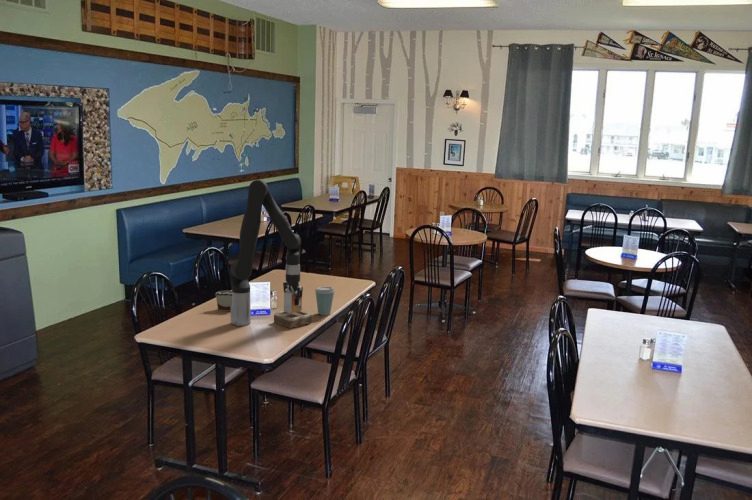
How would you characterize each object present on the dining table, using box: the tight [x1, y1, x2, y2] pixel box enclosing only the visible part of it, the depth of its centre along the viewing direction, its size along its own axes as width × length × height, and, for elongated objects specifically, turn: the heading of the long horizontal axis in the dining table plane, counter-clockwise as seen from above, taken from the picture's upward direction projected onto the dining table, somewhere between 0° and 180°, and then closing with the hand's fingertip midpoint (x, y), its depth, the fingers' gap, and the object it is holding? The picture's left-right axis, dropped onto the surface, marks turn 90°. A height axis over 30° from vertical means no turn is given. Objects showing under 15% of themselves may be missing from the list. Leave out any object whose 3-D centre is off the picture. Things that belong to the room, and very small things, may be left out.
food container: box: [214, 290, 232, 312], centre depth 358 cm, size 12×6×10 cm, turn 84°
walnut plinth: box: [273, 310, 313, 329], centre depth 338 cm, size 14×14×5 cm
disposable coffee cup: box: [315, 286, 335, 316], centre depth 354 cm, size 11×11×15 cm
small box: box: [283, 291, 303, 313], centre depth 336 cm, size 8×6×10 cm
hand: (292, 303), depth 336 cm, fingers closed on small box, 6 cm apart
